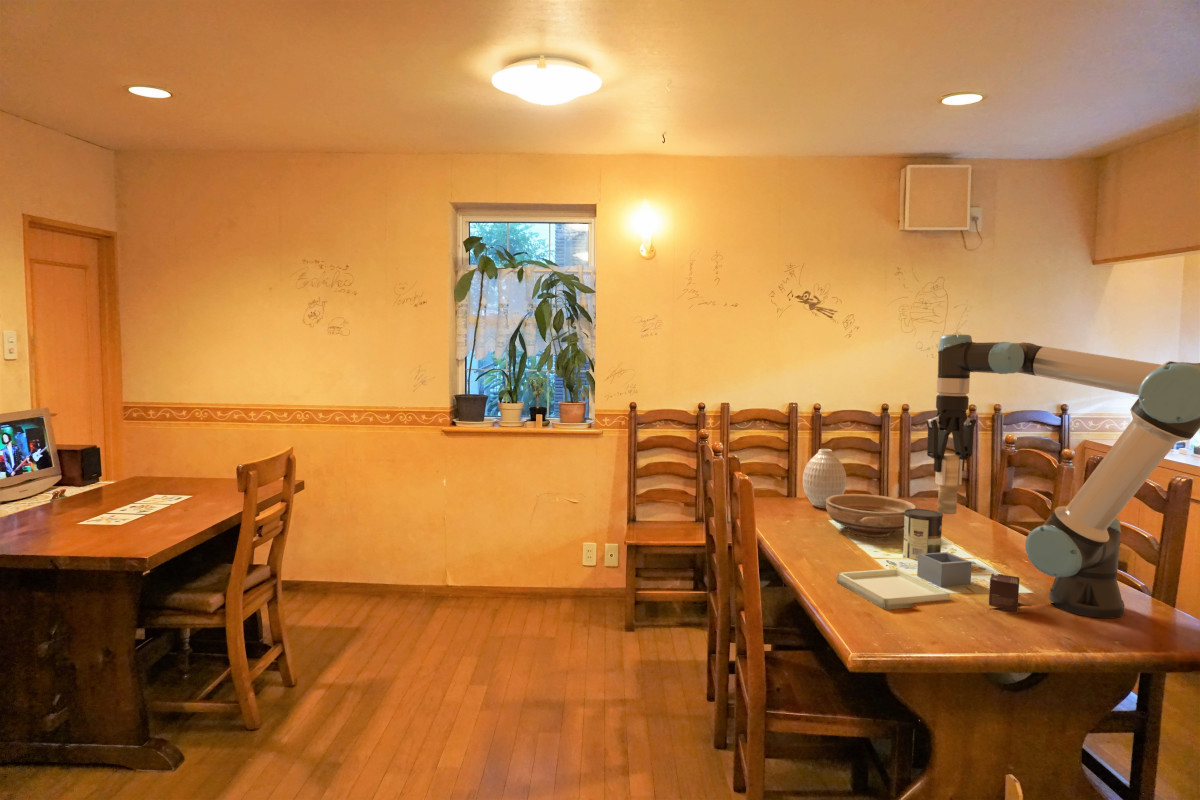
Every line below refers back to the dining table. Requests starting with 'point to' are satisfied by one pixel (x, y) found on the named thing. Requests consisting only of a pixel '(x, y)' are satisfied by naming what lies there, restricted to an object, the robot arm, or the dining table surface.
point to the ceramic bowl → (868, 513)
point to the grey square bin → (944, 569)
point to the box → (1004, 592)
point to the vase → (823, 478)
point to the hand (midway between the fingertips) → (948, 483)
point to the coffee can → (921, 532)
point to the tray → (891, 588)
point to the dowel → (949, 486)
